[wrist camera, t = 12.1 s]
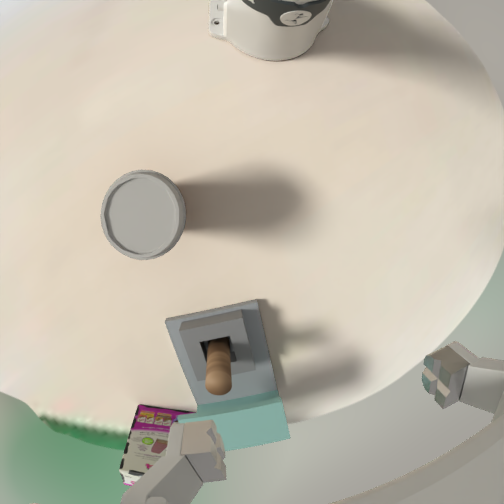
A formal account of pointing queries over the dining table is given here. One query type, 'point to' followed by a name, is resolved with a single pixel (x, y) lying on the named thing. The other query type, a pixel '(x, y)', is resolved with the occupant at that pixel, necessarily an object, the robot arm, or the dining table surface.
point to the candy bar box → (147, 441)
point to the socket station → (242, 372)
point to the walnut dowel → (218, 367)
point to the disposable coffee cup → (143, 214)
